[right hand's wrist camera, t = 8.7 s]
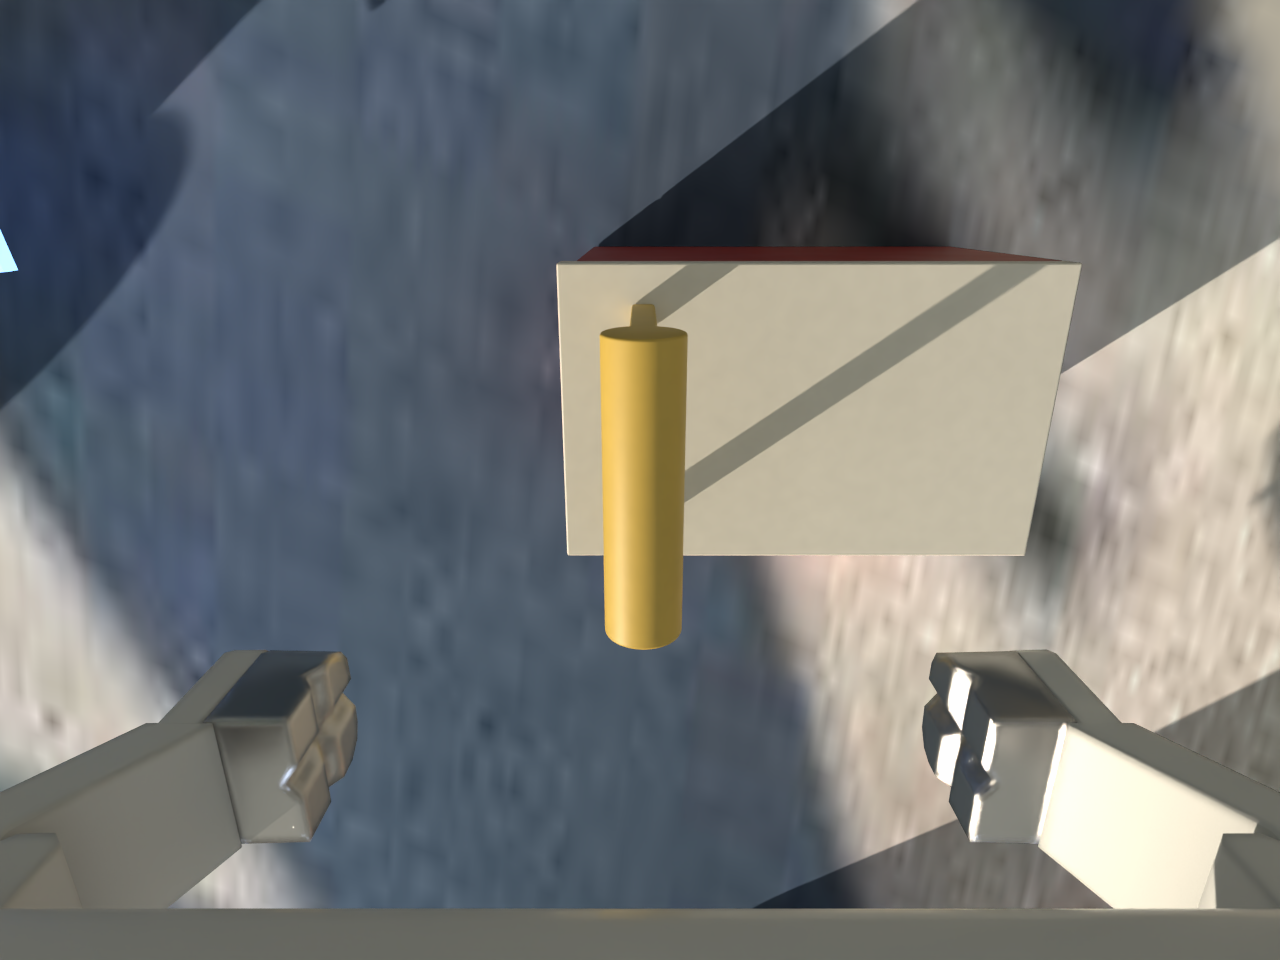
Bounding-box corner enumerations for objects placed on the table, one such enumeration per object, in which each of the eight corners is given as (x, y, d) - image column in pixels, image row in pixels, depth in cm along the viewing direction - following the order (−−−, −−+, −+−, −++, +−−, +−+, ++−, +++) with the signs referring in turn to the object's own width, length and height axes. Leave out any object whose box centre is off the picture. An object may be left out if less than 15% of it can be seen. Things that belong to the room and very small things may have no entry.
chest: (597, 461, 34) (583, 543, 26) (593, 246, 31) (574, 260, 23) (921, 461, 34) (1011, 544, 26) (951, 246, 31) (1065, 260, 23)
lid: (569, 544, 26) (539, 686, 18) (559, 260, 23) (516, 288, 15) (1012, 544, 26) (1169, 687, 18) (1066, 260, 23) (1286, 288, 15)
